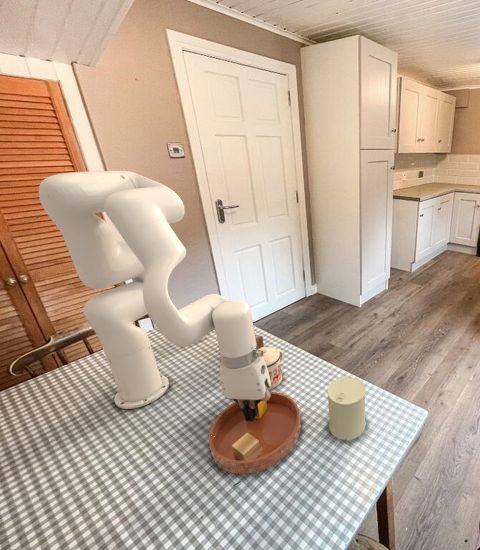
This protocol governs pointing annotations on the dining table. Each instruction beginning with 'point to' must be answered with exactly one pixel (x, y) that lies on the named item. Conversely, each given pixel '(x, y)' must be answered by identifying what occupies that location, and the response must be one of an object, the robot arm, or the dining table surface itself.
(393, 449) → the dining table surface
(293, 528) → the dining table surface
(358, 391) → the can
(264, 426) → the bowl
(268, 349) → the teacup with lid
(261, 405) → the mustard block
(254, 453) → the birch block
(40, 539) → the dining table surface
